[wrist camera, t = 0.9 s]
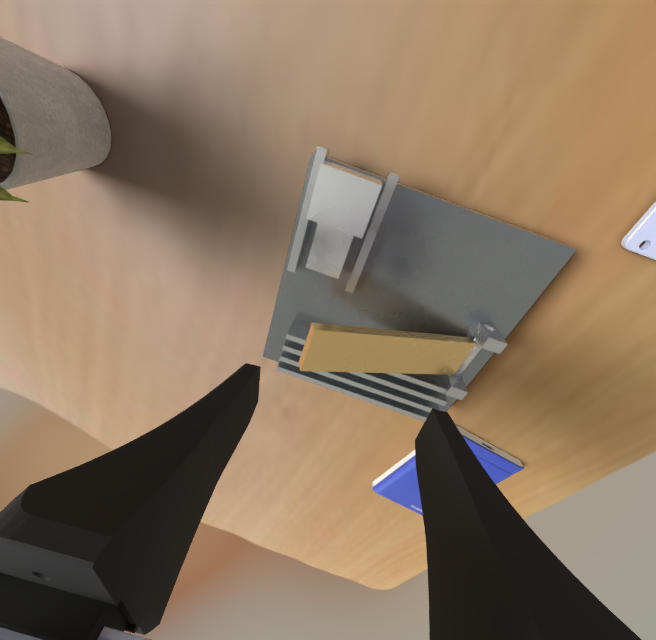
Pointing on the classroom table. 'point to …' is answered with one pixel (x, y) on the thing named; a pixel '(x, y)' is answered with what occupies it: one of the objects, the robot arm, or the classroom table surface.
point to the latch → (339, 214)
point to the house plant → (45, 120)
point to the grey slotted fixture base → (412, 288)
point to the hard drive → (404, 481)
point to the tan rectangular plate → (382, 351)
